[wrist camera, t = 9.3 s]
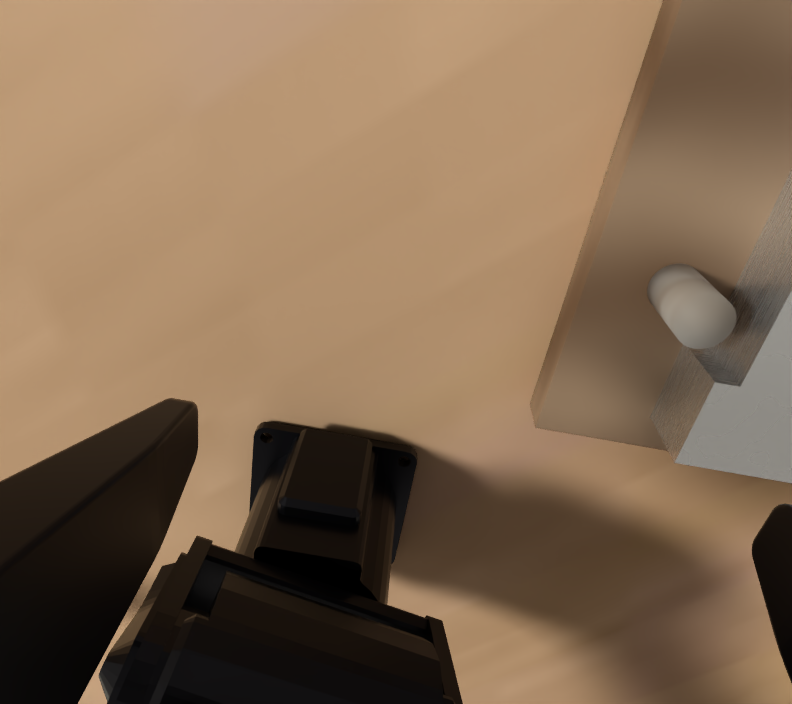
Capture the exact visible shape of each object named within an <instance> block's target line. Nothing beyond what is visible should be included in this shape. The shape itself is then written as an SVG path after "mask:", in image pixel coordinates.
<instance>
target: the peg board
mask: <svg viewBox="0 0 792 704" xmlns="http://www.w3.org/2000/svg"><path fill="white" fill-rule="evenodd" d="M791 169H792V0H663V3H662V6H661V9H660V12H659V15H658V18H657V21H656V24H655V27H654V30H653V33H652V36H651V39H650V42H649V45H648V48H647V51H646V54H645V57H644V60H643V63H642V67H641V70H640V73H639V76H638V79H637V82H636V85H635V88H634V91H633V94H632V97H631V100H630V103H629V106H628V109H627V112H626V115H625V118H624V121H623V124H622V127H621V130H620V133H619V136H618V139H617V142H616V145H615V148H614V151H613V154H612V157H611V160H610V163H609V166H608V170H607V173H606V176H605V179H604V182H603V185H602V188H601V191H600V194H599V197H598V200H597V203H596V206H595V209H594V212H593V215H592V218H591V221H590V224H589V227H588V230H587V233H586V236H585V239H584V242H583V245H582V248H581V251H580V254H579V257H578V260H577V263H576V266H575V269H574V272H573V276H572V279H571V282H570V285H569V288H568V291H567V294H566V297H565V300H564V303H563V306H562V309H561V312H560V315H559V318H558V321H557V324H556V327H555V330H554V333H553V336H552V339H551V342H550V345H549V348H548V351H547V354H546V357H545V360H544V363H543V366H542V369H541V372H540V375H539V379H538V382H537V385H536V388H535V391H534V394H533V397H532V400H531V403H530V407H531V411H532V415H533V420H534V424H535V428H540V429H545V430H551V431H557V432H563V433H568V434H574V435H580V436H586V437H591V438H597V439H603V440H609V441H614V442H620V443H626V444H632V445H637V446H643V447H649V448H655V449H660V450H666V451H668V450H667V448H666V446H665V444H664V442H663V440H662V438H661V437H660V435H659V433H658V431H657V429H656V427H655V425H654V423H653V421H652V420H651V418H650V415H651V413H652V411H653V409H654V407H655V404H656V402H657V400H658V398H659V396H660V393H661V391H662V389H663V387H664V385H665V382H666V380H667V378H668V376H669V374H670V372H671V369H672V367H673V365H674V363H675V361H676V358H677V356H678V354H679V352H680V350H681V347H682V345H685V346H687V347H689V348H693V349H705V348H710V347H713V346H715V345H717V344H719V343H721V342H722V341H724V340H725V339H726V338H727V337H728V336H729V335H730V334H731V332H732V331H733V329H734V327H735V324H736V311H735V309H734V307H733V305H732V304H731V303H730V302H729V301H728V300H729V298H730V296H731V294H732V292H733V290H734V288H735V286H736V284H737V281H738V279H739V277H740V275H741V273H742V271H743V269H744V267H745V265H746V263H747V261H748V259H749V256H750V254H751V252H752V250H753V248H754V246H755V244H756V242H757V240H758V238H759V236H760V234H761V231H762V229H763V227H764V225H765V223H766V221H767V219H768V217H769V215H770V213H771V211H772V208H773V206H774V204H775V202H776V200H777V198H778V196H779V194H780V192H781V190H782V188H783V186H784V183H785V181H786V179H787V177H788V175H789V173H790V171H791Z"/></svg>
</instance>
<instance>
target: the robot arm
mask: <svg viewBox="0 0 792 704" xmlns="http://www.w3.org/2000/svg"><path fill="white" fill-rule="evenodd" d="M263 433H269V434H271V435H272V437H267V436H265V435H264V434H263ZM197 450H198V409H197V405H196V404H195V403H194V402H191V401H185V400H180V399H174V398H169V399H166V400H164V401H162V402H160V403H157V404H155V405H153V406H151V407H149V408H147V409H145V410H143V411H141V412H139V413H137V414H135V415H133V416H131V417H129V418H127V419H125V420H123V421H121V422H119V423H117V424H115V425H113V426H111V427H109V428H107V429H105V430H103V431H101V432H99V433H97V434H95V435H93V436H91V437H89V438H87V439H85V440H83V441H81V442H79V443H77V444H75V445H73V446H71V447H69V448H67V449H65V450H63V451H61V452H59V453H57V454H55V455H53V456H51V457H49V458H47V459H45V460H43V461H41V462H39V463H37V464H35V465H33V466H31V467H29V468H26V469H24V470H22V471H20V472H18V473H16V474H14V475H12V476H10V477H8V478H6V479H4V480H2V481H0V704H78V702H79V700H80V698H81V696H82V694H83V692H84V691H85V689H86V687H87V685H88V683H89V681H90V679H91V678H92V676H93V674H94V672H95V670H96V668H97V666H98V664H99V663H100V661H101V659H102V657H103V655H104V653H105V651H106V649H107V648H108V646H109V644H110V642H111V640H112V638H113V636H114V635H115V633H116V631H117V629H118V627H119V625H120V623H121V621H122V620H123V618H124V616H125V614H126V612H127V610H128V608H129V606H130V605H131V603H132V601H133V599H134V597H135V595H136V593H137V592H138V590H139V588H140V586H141V584H142V582H143V580H144V578H145V577H146V575H147V573H148V571H149V569H150V567H151V565H152V563H153V562H154V560H155V558H156V556H157V554H158V552H159V550H160V548H161V545H162V543H163V540H164V538H165V536H166V533H167V531H168V528H169V526H170V523H171V520H172V518H173V515H174V513H175V510H176V508H177V505H178V503H179V500H180V497H181V495H182V492H183V490H184V487H185V485H186V482H187V480H188V477H189V474H190V472H191V469H192V467H193V464H194V462H195V459H196V455H197ZM401 457H408V458H409V459H408V460H402V459H400V458H401ZM416 465H417V453H416V451H415V449H413V448H412V447H410V446H407V445H401V444H395V443H389V442H384V441H378V440H372V439H367V438H362V437H356V436H350V435H344V434H338V433H333V432H327V431H321V430H315V429H309V428H302V427H297V426H291V425H285V424H279V423H273V422H263V423H261V424H260V425H259V426H258V427H257V429H256V431H255V434H254V444H253V461H252V478H251V495H250V512H249V516H248V518H247V521H246V524H245V526H244V529H243V531H242V534H241V536H240V539H239V542H238V544H237V547H236V549H235V552H233V551H231V550H228V549H225V548H222V547H219V546H216V545H213V544H212V542H213V541H212V540H209V539H206V538H203V537H200V536H196V538H195V540H194V542H193V544H192V546H191V548H190V550H189V552H188V554H185V553H181V554H180V556H179V558H178V560H177V561H176V563H173V564H169V565H165V566H162V567H161V569H160V571H159V573H158V575H157V577H156V579H155V581H154V583H153V585H152V587H151V589H150V591H149V593H148V595H147V596H146V598H145V600H144V602H143V604H142V606H141V607H140V609H139V611H138V612H137V614H136V615H135V617H134V618H133V620H132V621H131V622H130V624H129V625H128V627H127V628H126V629H125V631H124V632H123V634H122V635H121V636H120V638H119V639H118V641H117V642H116V643H115V645H114V646H113V648H112V649H111V651H110V652H109V654H108V656H107V658H106V660H105V662H104V664H103V666H102V668H101V670H100V673H99V679H100V682H101V685H102V687H103V690H104V693H105V696H106V699H107V704H463V703H462V699H461V695H460V691H459V687H458V683H457V678H456V674H455V670H454V666H453V662H452V658H451V654H450V650H449V646H448V642H447V638H446V634H445V630H444V626H443V622H442V620H439V619H436V618H433V617H430V616H426V617H425V618H424V617H421V616H418V615H415V614H412V613H409V612H407V611H404V610H401V609H398V608H395V607H392V606H389V605H387V601H388V590H389V579H390V569H391V564H392V563H393V562H394V560H395V556H396V551H397V547H398V543H399V538H400V534H401V530H402V525H403V521H404V517H405V512H406V508H407V504H408V499H409V495H410V491H411V486H412V482H413V478H414V474H415V469H416ZM752 557H753V561H754V564H755V568H756V571H757V575H758V578H759V582H760V585H761V589H762V593H763V596H764V600H765V603H766V607H767V610H768V614H769V617H770V621H771V624H772V628H773V632H774V635H775V638H776V641H777V645H778V648H779V651H780V654H781V657H782V659H783V662H784V665H785V668H786V670H787V673H788V675H789V678H790V680H791V683H792V505H790V504H780V505H778V506H777V507H775V508H774V509H773V510H772V512H771V514H770V515H769V517H768V518H767V520H766V521H765V523H764V525H763V526H762V528H761V529H760V531H759V532H758V534H757V536H756V537H755V539H754V541H753V544H752Z"/></svg>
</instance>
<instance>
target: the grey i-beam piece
mask: <svg viewBox="0 0 792 704" xmlns="http://www.w3.org/2000/svg"><path fill="white" fill-rule="evenodd" d="M728 301H729V302H730V303H731V304H732V305H733V307H734V309H735V311H736V324H735V327H734V329H733V331H732V332H731V334H730V335H729V336H728V337H727V338H726V339H725V340H724V341H722V342H721V343H719V344H717V345H715V346H713V347H710V348H705V349H693V348H689V347H687V346H685V345H682V347H681V350H680V352H679V354H678V356H677V358H676V361H675V363H674V365H673V367H672V369H671V372H670V374H669V376H668V378H667V380H666V382H665V385H664V387H663V389H662V391H661V393H660V396H659V398H658V400H657V402H656V404H655V407H654V409H653V411H652V413H651V415H650V418H651V420H652V421H653V423H654V425H655V427H656V429H657V431H658V433H659V435H660V437H661V438H662V440H663V442H664V444H665V446H666V448H667V450H668V452H669V453H670V455H671V457H672V459H673V461H674V463H679V464H684V465H690V466H696V467H702V468H707V469H713V470H719V471H725V472H730V473H736V474H742V475H747V476H753V477H759V478H765V479H770V480H776V481H782V482H787V483H792V169H791V171H790V173H789V175H788V177H787V179H786V181H785V183H784V186H783V188H782V190H781V192H780V194H779V196H778V198H777V200H776V202H775V204H774V206H773V208H772V211H771V213H770V215H769V217H768V219H767V221H766V223H765V225H764V227H763V229H762V231H761V234H760V236H759V238H758V240H757V242H756V244H755V246H754V248H753V250H752V252H751V254H750V256H749V259H748V261H747V263H746V265H745V267H744V269H743V271H742V273H741V275H740V277H739V279H738V281H737V284H736V286H735V288H734V290H733V292H732V294H731V296H730V298H729V300H728Z"/></svg>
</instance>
